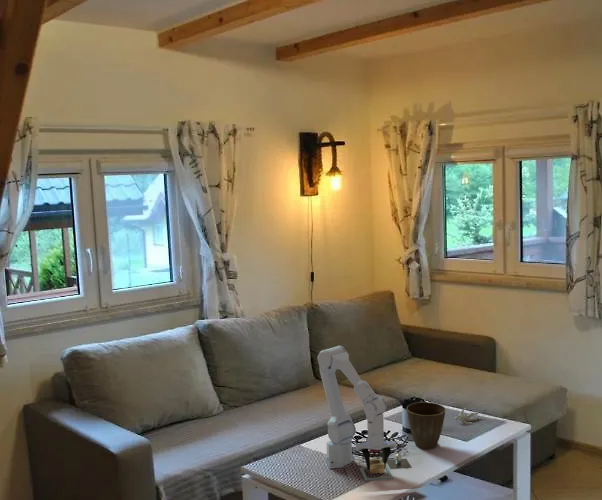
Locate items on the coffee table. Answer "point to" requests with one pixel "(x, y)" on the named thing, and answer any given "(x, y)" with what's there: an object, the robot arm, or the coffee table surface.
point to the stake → (398, 463)
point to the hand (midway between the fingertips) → (376, 468)
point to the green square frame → (376, 477)
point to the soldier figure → (466, 417)
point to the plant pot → (426, 423)
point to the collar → (376, 466)
